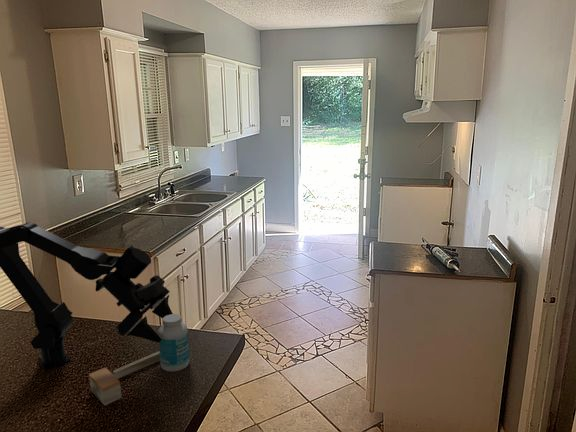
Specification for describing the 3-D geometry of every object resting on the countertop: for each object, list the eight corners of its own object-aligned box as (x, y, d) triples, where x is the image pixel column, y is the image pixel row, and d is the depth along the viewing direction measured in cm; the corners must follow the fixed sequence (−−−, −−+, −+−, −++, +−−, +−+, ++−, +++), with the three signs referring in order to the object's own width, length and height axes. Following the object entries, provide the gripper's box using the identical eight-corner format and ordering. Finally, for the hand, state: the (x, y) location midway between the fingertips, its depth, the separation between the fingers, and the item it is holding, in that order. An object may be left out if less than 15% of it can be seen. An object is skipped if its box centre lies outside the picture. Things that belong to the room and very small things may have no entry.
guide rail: (113, 377, 110) (112, 370, 109) (163, 355, 119) (163, 349, 119) (115, 379, 109) (114, 372, 109) (166, 357, 119) (165, 350, 118)
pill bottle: (182, 374, 111) (178, 326, 108) (155, 371, 112) (151, 323, 109) (194, 358, 118) (191, 312, 115) (169, 355, 119) (165, 310, 116)
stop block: (91, 390, 105) (88, 374, 104) (107, 383, 108) (105, 367, 107) (104, 405, 99) (102, 388, 98) (121, 397, 102) (119, 381, 101)
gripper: (122, 284, 101) (171, 331, 102) (159, 258, 119) (200, 298, 120) (96, 314, 105) (143, 358, 105) (136, 284, 122) (176, 322, 123)
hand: (168, 332), depth 113 cm, fingers open, 9 cm apart
